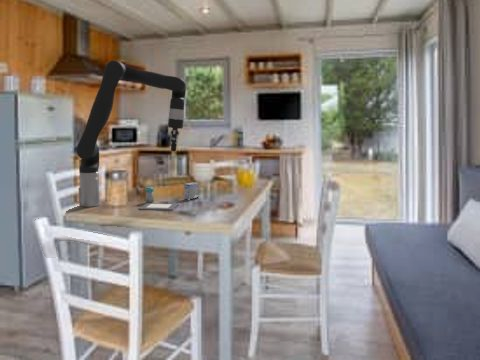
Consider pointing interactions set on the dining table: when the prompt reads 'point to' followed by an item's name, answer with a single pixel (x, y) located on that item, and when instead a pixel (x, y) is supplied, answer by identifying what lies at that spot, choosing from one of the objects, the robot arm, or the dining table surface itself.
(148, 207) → the writing mat
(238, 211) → the dining table surface
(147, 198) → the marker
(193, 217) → the dining table surface
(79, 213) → the dining table surface
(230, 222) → the dining table surface
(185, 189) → the medicine box
